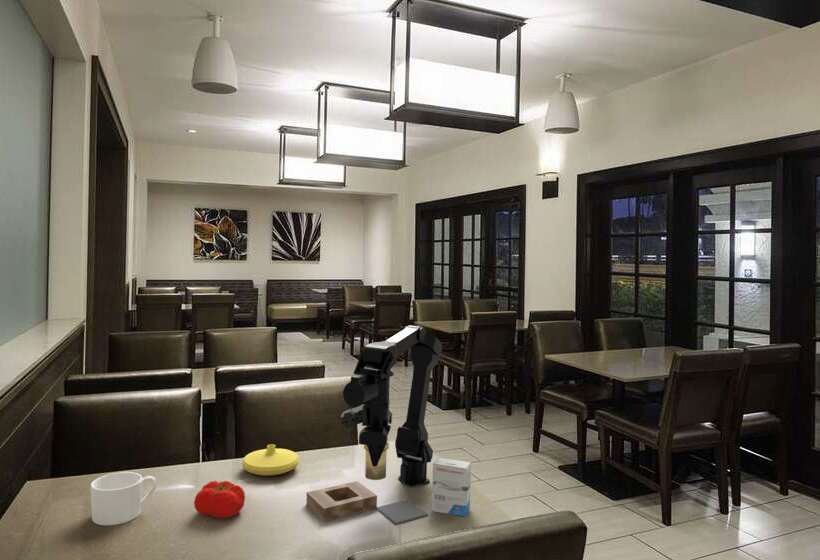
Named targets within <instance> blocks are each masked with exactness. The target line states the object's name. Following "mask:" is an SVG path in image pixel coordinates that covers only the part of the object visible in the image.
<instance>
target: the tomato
mask: <svg viewBox="0 0 820 560" xmlns="http://www.w3.org/2000/svg"><path fill="white" fill-rule="evenodd" d="M245 500H246V492H245V491H244V489H243V487H241V486H240V485H238V484H235V483H232V482H231V481H228V480H224V481H220V482H219V481H217V480H211V481H209V482H207V483H206V484H205V485H203V486H202V488H201V490H200V491H198V492H197V494H196V495H195V496H194V502H193V505H194V509H195V510H196V512H197V513H198V514H200V515H203V516H206V517H207V516H208V517H215V518H218V519H227V518H230V517H233V516H235V515H238V514H239V513H240V511H242V509H243V507H244V505H245Z"/></svg>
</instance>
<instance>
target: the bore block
mask: <svg viewBox="0 0 820 560" xmlns="http://www.w3.org/2000/svg"><path fill="white" fill-rule="evenodd" d="M377 505H378V495H377V494H376V493H375V492H373V491H371V490H370V489H369V488H368V487H366V486H365V485H364V484H362V483H361V482H360V481H358V480H357V481H352V482H348V483H347V482H346V483H342V484H338V485H334V486H330V487H324V488H320V489H316V490H312V491H307V492H306V506H307V507H308V508H309V509H311V511H312V512H314V514H316V516H318V518H320V519H321V520H322V521H323V522H326V521H327V522H328V521H330V520H331V521H332V520H335V519H339V518H342V517H346V516H350V515H353V514H357V513H360V512H361V513H362V512H365V511H369V510H373V509H376V507H378V506H377Z"/></svg>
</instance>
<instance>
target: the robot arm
mask: <svg viewBox="0 0 820 560" xmlns="http://www.w3.org/2000/svg"><path fill="white" fill-rule="evenodd" d="M408 350H409V352H410V353H409V358H410V361H411V364H412V365H413V372H412V377H411V379H412V380H411V386H410V391H409V398H408V399H409V400H408V405H407V406H408V407H407V414H406V419H405V422H404V423H402V425H401V426H398V427H397V431H396V438H395V442H394V447H395V451H396V458H398V459H401V463H400V467H399V468H400V469H399V470H400V474H399V476H397V479H398V481H401V482H403V483H405V485H407V486H409V487H410V488H411V487H415V486H419V485H423V484H427V483H430V482H431V480H430V479H429V478H427V474H428V469H427V468H428V463H431V462H432V459H433V456H434V455H433V454H434V450H433V449H432V447H431V445H430V444H429V442H428V440H429V434H428V433H429V432H428V431H427V428H426V426H425V419H426V416H425V415H426V411H427V404H428V396H429V390H430V382H431V376H432V371H433V369H434V368H435V366H436V365H438V363H439V360H440V356H441V354H442V351H443V344H442V342H441V341H440V340H439V339H438V337H437V336H436V335H434V334H432V333H431V332H429V331H428V330H426V329H425V327H422V326H421V325H420V326H418V325H411V324H409V325H408V326H407V325H406V326H405V327H404V328H403V329H402V330H401V331H399V332H397V333H396V334H394V335H393V336H391V337H389V338H388V339H386V340H385V341H384V340H383V341H376V342H372V343H367V344H366V345H365V346H364V347H363V349H362V350H361V354H360V356H359V358H358V361H357V363H356V366H355V369H354V371H353V374H354V375H353V376H351V377H350V382H348V383H347V384H345V386H344V388H343V391H342V395H343V400H344V401H345V403H346V404H347V405H348V406H349V407H350V408H349V409H346V410H344V411H342V413H341V415H340V419H341V422H340V424H341V425H343V427H344V429H345V430H346V429H350V427H353V426H356V425H359V424H361V426H362V427H363V428H362V429H361V430H360V432H359V435H358V444H359V445H361V446H362V445H363V446H364V445H366V446H367V447H368V450H369V454H370V458H371V463H372V466H377V465H378V462H379V460H380V457H381V455H382V453H383V450H384V448H385V446H386V444H387V442H388V439H389V438H388V435H389V433H390V430H391V428H392V427H391V425H389V424H392V422H393V412H391V410H390V405H391V399H390V381H391V380H390V378H391V377H393V376H394V372H393V370H392V368H393V367H394V366H396V364H397V362H398V360H397V359H398V357H399V356H401V355H402V354H404V353H405V352H406V351H408Z"/></svg>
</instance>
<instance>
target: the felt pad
mask: <svg viewBox="0 0 820 560" xmlns="http://www.w3.org/2000/svg"><path fill="white" fill-rule="evenodd" d="M375 509H376V510H377V511H378V512H379V513H380V514H382V515H383V516H384V517H385V518H387V519H388V520H390V521H391V522H392V523H393V524H395V525H399V524H403V523H405V522H409V521H412V520H416V519H419V518H424V517H427V516H428V515H429V514H428V512H427V511H425V510H424V509H422V508H421V507H420V506H417V505H416V503H413V502H412V501H410V500H409V499H408V498H407V499H404V500H399V501H395V502H392V503H387V504H383V505H380V506H377V507H376V508H375Z"/></svg>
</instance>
